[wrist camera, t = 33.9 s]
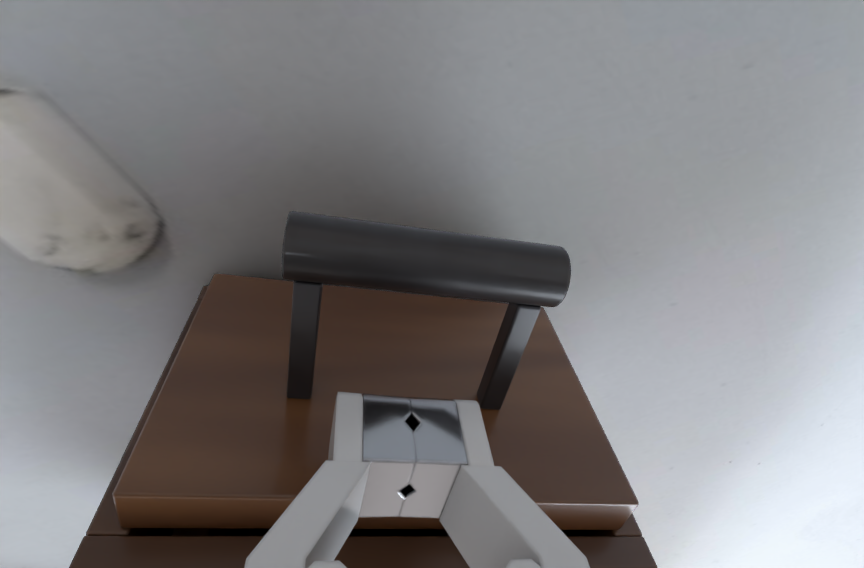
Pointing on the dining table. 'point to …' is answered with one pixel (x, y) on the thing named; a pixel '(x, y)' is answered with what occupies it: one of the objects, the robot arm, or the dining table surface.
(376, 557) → the cabinet
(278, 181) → the dining table surface
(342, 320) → the drawer
